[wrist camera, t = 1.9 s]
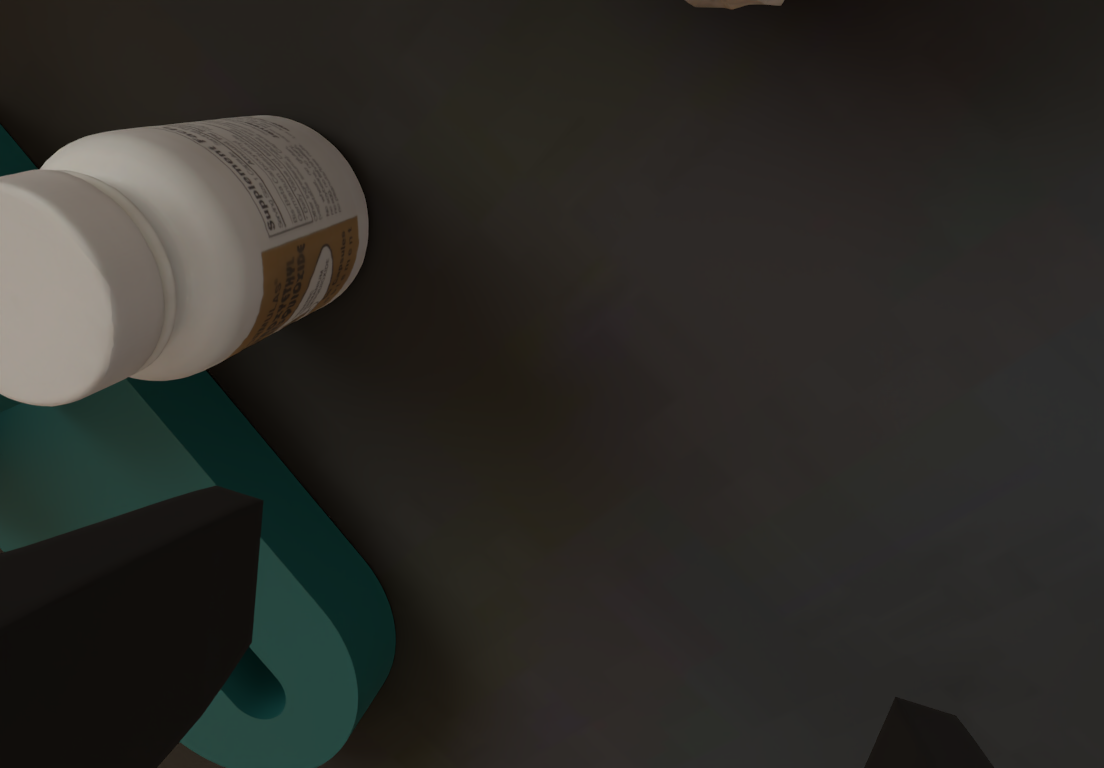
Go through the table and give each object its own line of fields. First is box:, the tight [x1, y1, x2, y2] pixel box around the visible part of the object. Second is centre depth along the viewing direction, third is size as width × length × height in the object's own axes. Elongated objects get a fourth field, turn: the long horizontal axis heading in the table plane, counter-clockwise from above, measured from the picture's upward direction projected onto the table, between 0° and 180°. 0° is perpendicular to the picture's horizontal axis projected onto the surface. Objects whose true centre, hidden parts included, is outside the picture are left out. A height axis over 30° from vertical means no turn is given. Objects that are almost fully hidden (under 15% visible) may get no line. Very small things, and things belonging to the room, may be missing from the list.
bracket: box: [0, 124, 396, 768], centre depth 20 cm, size 18×7×8 cm, turn 39°
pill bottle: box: [0, 115, 369, 407], centre depth 16 cm, size 4×4×8 cm
